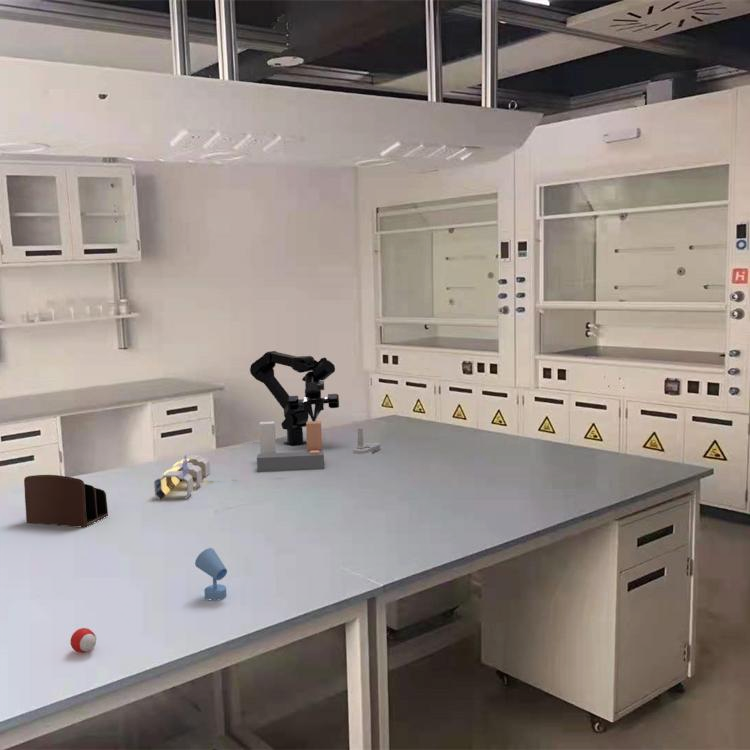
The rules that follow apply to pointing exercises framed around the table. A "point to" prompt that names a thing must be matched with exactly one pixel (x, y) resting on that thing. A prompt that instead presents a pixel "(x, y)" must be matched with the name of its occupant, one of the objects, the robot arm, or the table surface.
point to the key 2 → (314, 435)
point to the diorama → (183, 475)
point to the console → (290, 461)
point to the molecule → (83, 640)
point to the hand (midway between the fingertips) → (313, 421)
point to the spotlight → (212, 573)
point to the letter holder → (63, 501)
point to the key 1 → (267, 437)
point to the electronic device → (365, 445)
